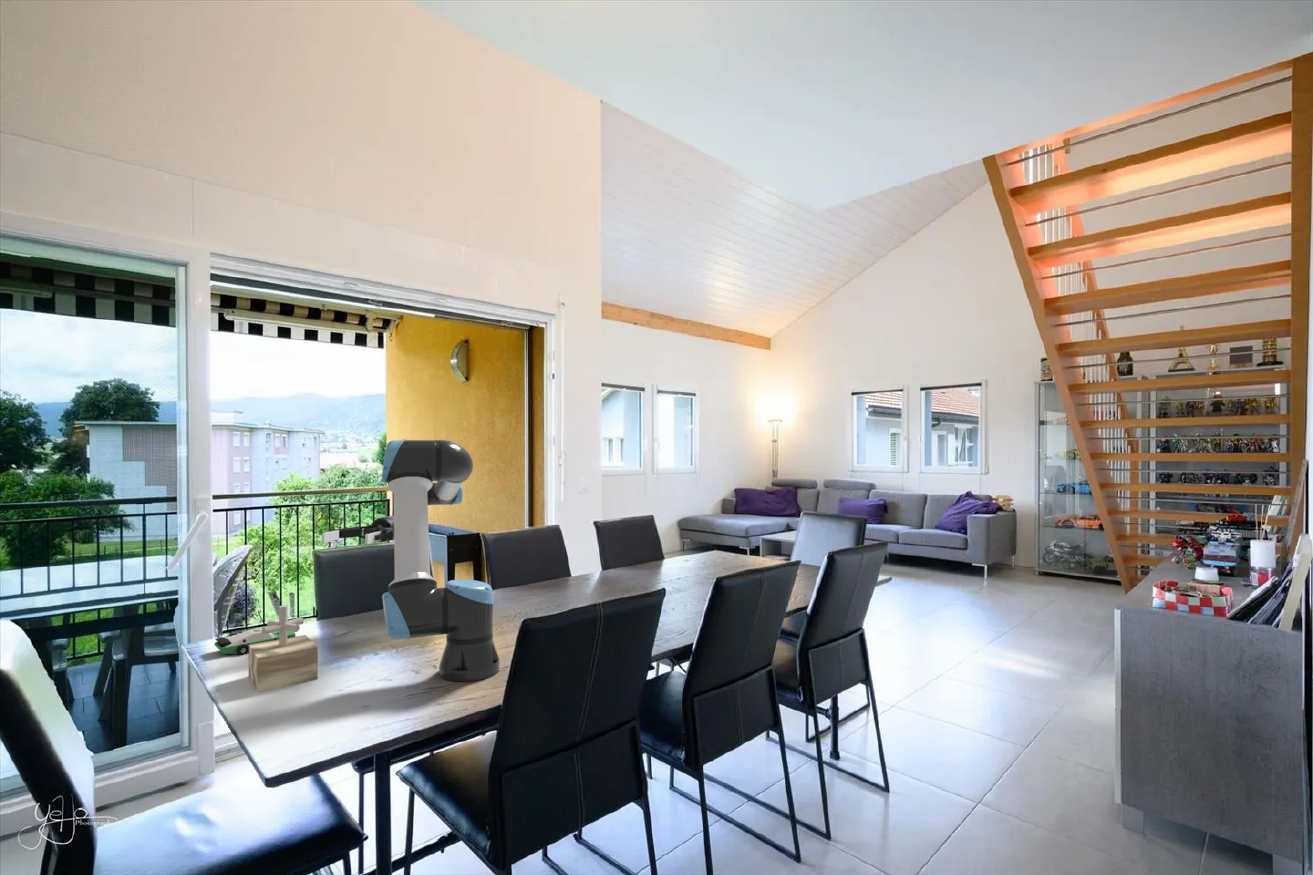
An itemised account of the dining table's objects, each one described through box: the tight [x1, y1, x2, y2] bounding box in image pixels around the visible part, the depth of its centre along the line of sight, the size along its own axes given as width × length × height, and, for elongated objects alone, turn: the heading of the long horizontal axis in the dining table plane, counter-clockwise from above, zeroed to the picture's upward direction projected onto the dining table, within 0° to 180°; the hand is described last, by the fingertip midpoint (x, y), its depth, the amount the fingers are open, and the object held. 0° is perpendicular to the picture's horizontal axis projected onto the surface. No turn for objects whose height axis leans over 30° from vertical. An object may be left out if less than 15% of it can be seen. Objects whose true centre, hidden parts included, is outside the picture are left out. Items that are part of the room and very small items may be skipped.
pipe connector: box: [261, 604, 305, 647], centre depth 163 cm, size 10×10×10 cm
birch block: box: [248, 634, 319, 693], centre depth 163 cm, size 13×13×8 cm
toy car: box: [214, 627, 297, 656], centre depth 187 cm, size 10×19×5 cm, turn 135°
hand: (344, 538), depth 183 cm, fingers open, 13 cm apart
